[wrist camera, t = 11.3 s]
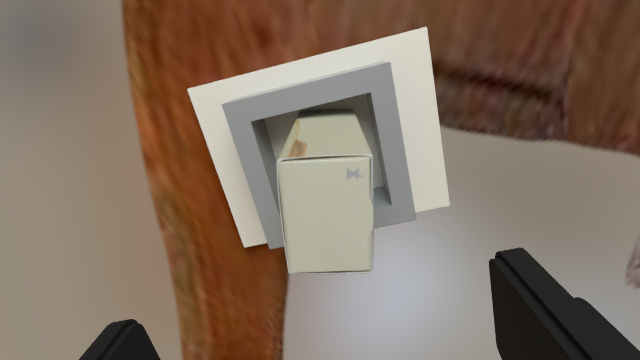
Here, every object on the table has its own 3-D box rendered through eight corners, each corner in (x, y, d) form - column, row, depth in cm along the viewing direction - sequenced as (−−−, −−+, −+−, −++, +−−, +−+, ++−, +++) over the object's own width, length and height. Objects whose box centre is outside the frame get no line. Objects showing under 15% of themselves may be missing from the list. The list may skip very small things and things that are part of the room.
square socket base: (423, 27, 25) (445, 20, 20) (445, 200, 29) (468, 228, 24) (192, 87, 27) (162, 94, 22) (246, 241, 31) (232, 274, 26)
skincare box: (297, 110, 26) (271, 151, 14) (354, 107, 26) (374, 146, 14) (303, 188, 28) (285, 279, 17) (356, 186, 28) (374, 276, 16)
